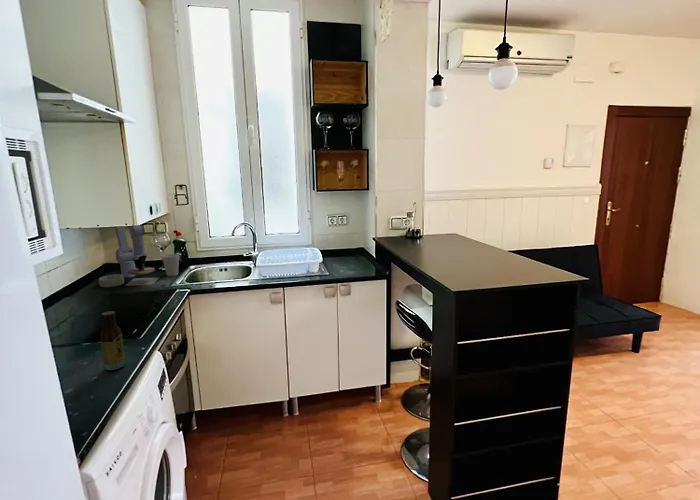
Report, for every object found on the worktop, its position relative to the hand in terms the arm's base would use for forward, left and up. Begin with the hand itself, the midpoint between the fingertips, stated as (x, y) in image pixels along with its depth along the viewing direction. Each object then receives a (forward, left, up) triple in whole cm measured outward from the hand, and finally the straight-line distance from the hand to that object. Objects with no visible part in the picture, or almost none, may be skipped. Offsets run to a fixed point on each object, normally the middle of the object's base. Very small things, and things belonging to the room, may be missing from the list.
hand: (141, 268), depth 229 cm
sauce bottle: (+108, +22, -8) cm, 110 cm away
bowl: (+2, -16, -8) cm, 18 cm away
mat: (0, 0, -8) cm, 8 cm away
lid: (0, 0, -2) cm, 2 cm away
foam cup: (-12, +14, -8) cm, 20 cm away
